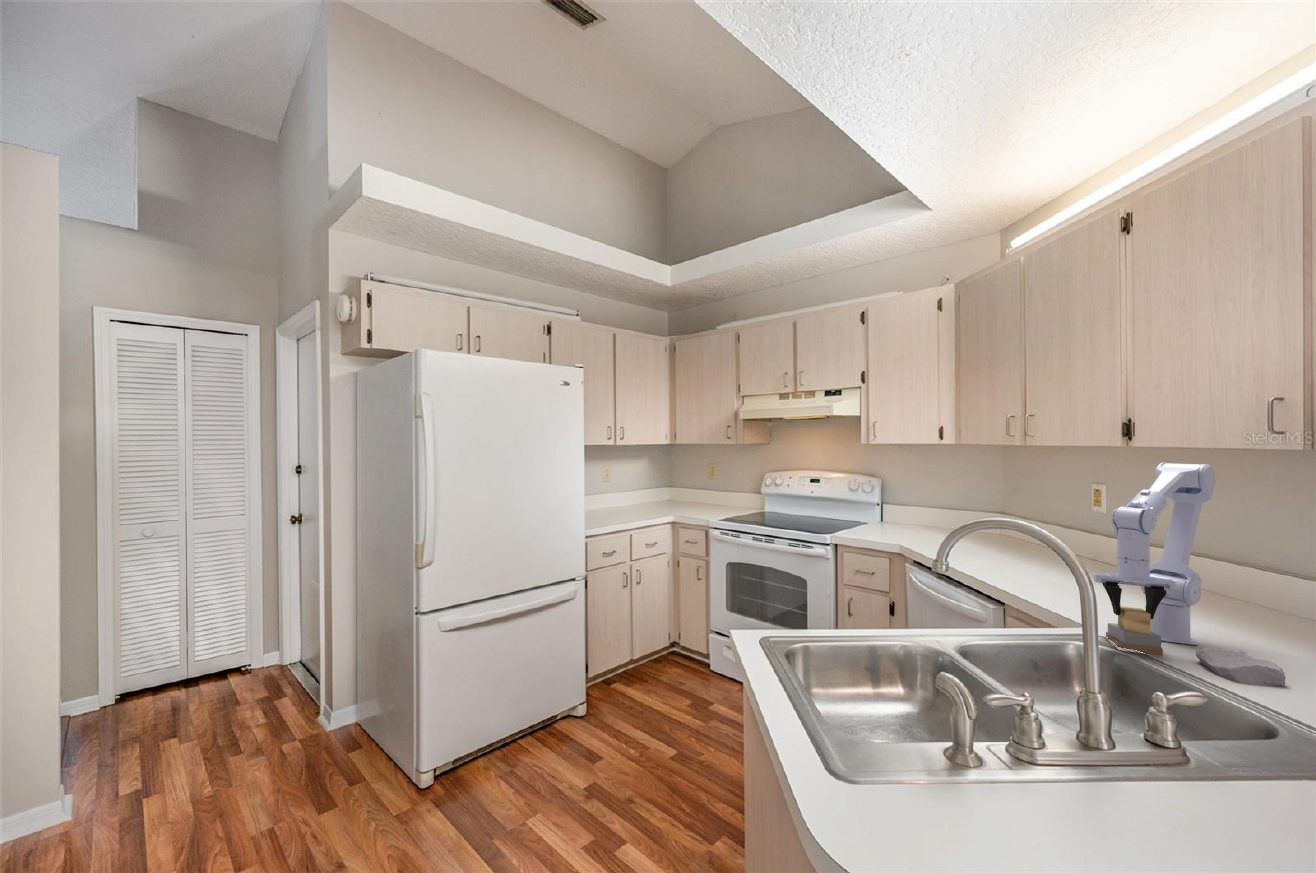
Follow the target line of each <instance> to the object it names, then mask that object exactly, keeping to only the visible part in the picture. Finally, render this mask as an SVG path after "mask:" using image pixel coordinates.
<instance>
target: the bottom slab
mask: <svg viewBox="0 0 1316 873" xmlns="http://www.w3.org/2000/svg"><path fill="white" fill-rule="evenodd" d="M1106 637H1108V639H1110V640H1112V641H1113V642H1114V643H1115V644H1116V645H1117V647H1121V648H1126V649H1133V650H1137V651H1140V652H1143V653H1145V654H1144V655H1147V654H1150V655H1149V656H1156V657H1163V656H1164V648H1163V647H1162V646H1161V647H1154V646H1143V645H1133V644H1124V643H1122V642H1121V641H1119V640H1118V639H1116V638H1115V637H1113V636H1111V635H1110V634H1108V631H1105V638H1106Z"/></svg>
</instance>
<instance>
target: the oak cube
mask: <svg viewBox="0 0 1316 873" xmlns="http://www.w3.org/2000/svg"><path fill="white" fill-rule="evenodd" d="M1120 607H1121V614H1120V615H1117V624H1118V625H1119V626H1120V627H1121V628H1123V629H1124V630H1125V631H1131V632H1139V633H1147V634H1150V620H1151V614H1149V613H1148V612H1146V611H1145V609H1143V608H1138V607H1130V606H1122V605H1120Z"/></svg>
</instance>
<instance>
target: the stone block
mask: <svg viewBox="0 0 1316 873" xmlns="http://www.w3.org/2000/svg"><path fill="white" fill-rule="evenodd" d="M1195 657H1196V658H1197V659H1198V660H1199V661H1200V662H1201V664H1203V665H1204V666H1205V667H1206V668H1208V669H1210V670H1211V671H1212V672H1213V673H1215V674H1216V675H1218V677H1223V678H1225V679H1227V680H1230V681H1233V682H1236V683H1240V684H1247V685H1252V686H1253V685H1254V686H1271V687H1276V686H1277V687H1284V686H1285V685H1286V675H1285V674H1286V673H1285V672H1284V669H1283V668H1282V667H1281V666H1279V665H1278V664H1276V662H1272V661H1268V660H1266V659H1260V658H1259V659H1258V658H1254V657H1253V656H1250V655H1249V654H1248V653H1247V652H1245V651H1242V650H1238V651H1237V650H1229V649H1223V648H1218V647H1213V648H1212V647H1207V648H1202V649H1200V648H1199V649H1198V650H1196V652H1195Z"/></svg>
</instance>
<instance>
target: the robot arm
mask: <svg viewBox="0 0 1316 873" xmlns="http://www.w3.org/2000/svg"><path fill="white" fill-rule="evenodd" d="M1154 478H1155V480H1154V482H1153V483H1152V484H1151V486H1150V487H1149V489H1142V490H1140V491H1139V492H1138V493H1137V494H1136V495H1135V496H1134V497H1133V498H1132V499H1131V500H1130V501H1129V502H1128V503H1127V504H1126V505H1125V506H1119V507H1118V508H1115V509H1114V510H1113V512H1112V515H1111V516H1112V517H1111V521H1110V522H1111V524H1112V528H1113V533H1114V534H1113V535H1114V537H1116V540H1117V544H1116V546H1117V547H1116V549H1117V553H1116V555H1117V556H1116V558H1117V559H1116V561H1117V563H1116V568H1117V570H1116V572H1117V573H1107V572H1105V573H1104V572H1102V573H1101V572H1093V581H1094V582H1095V583H1098V584H1100V583H1101V584H1102V586H1103V589H1104V590H1105V592H1106V594H1107V595H1108V597H1109V600H1110V604H1111V607H1112V611H1113V614H1115V615H1116V616H1118V615H1120V614H1121V607H1120V606H1121V597H1122V593H1123V592H1122V591H1123V588H1121V587H1120V585H1126V586H1127V585H1129V586H1140V590H1141V591H1142V594H1144V595H1145V607H1144V608H1145V609H1144V610H1145V611H1146V612H1148V613H1149V614H1151V620H1150V630H1151V631H1153V632H1154V633H1156V634H1158V635H1160V636H1161V642H1168V643H1177V644H1183V645H1192V646H1199V645H1200V644H1199V642H1197V641H1196V640H1194V639H1193V638H1191V607H1192V606H1195V605H1196V604H1197V603H1198V602H1200V600H1201V596H1202V586H1201V584H1202V578H1201V576H1200V575H1199V573H1197V572H1196V571H1195V570H1194V569H1193V568H1191V567H1190V566H1189V562H1190V559H1191V555H1192V550H1193V547H1194V542H1195V537H1196V533H1197V528H1198V525H1199V519H1200V515H1201V511H1202V509H1203V503H1206V502H1208V501H1211V500H1212V496H1213V495H1214V490H1215V486H1216V482H1217V479H1216V478H1217V477H1216V472H1215V469H1214V467H1212V466H1211V464H1208V463H1203V464H1202V463H1199V464H1198V463H1195V464H1194V463H1169V462H1160V463H1159V464H1158V465H1157V466H1156V468H1155V471H1154ZM1167 498H1168V499H1170V500H1172V501H1173V502H1174V504H1173V509H1172V513H1171V517H1170V521H1169V525H1168V529H1167V533H1166V534H1167V535H1166V536H1165V537H1166V538H1165V543H1164V546H1163V551H1162V553H1161V558H1160V560H1157V561H1154V562H1152V563H1150V557H1151V556H1150V551H1151V549H1150V548H1151V546H1150V545H1151V544H1150V542H1151V541H1150V538H1151V536H1150V535H1151V534H1152V533H1153V532H1154V531H1155V528H1156V525H1157V522H1158V519H1159V518H1158V516H1160V514H1161V513H1162V512H1163V511H1164V510H1165V508H1166V507H1167V506H1168V500H1167Z"/></svg>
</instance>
